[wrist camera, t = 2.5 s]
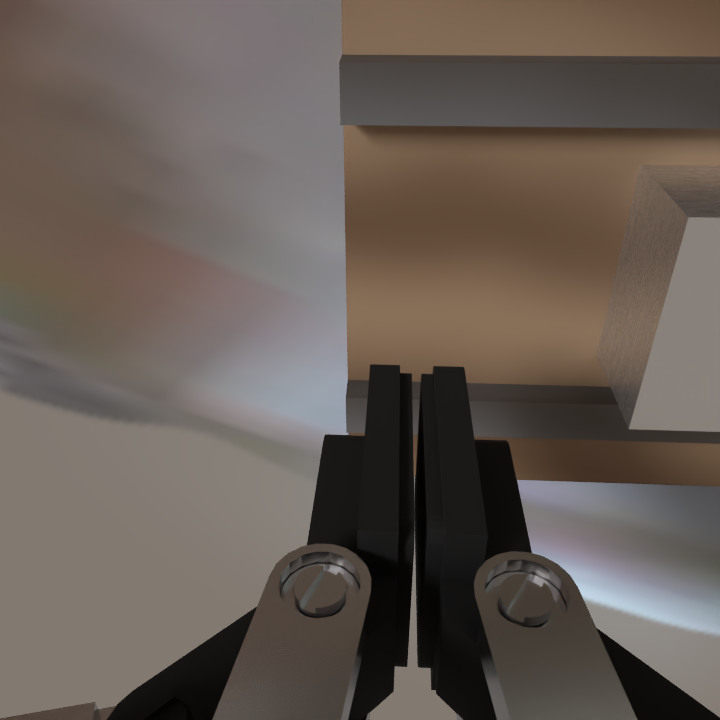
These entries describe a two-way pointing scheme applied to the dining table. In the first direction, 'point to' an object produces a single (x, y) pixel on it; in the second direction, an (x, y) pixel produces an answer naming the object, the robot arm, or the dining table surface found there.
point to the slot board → (516, 209)
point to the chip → (667, 303)
